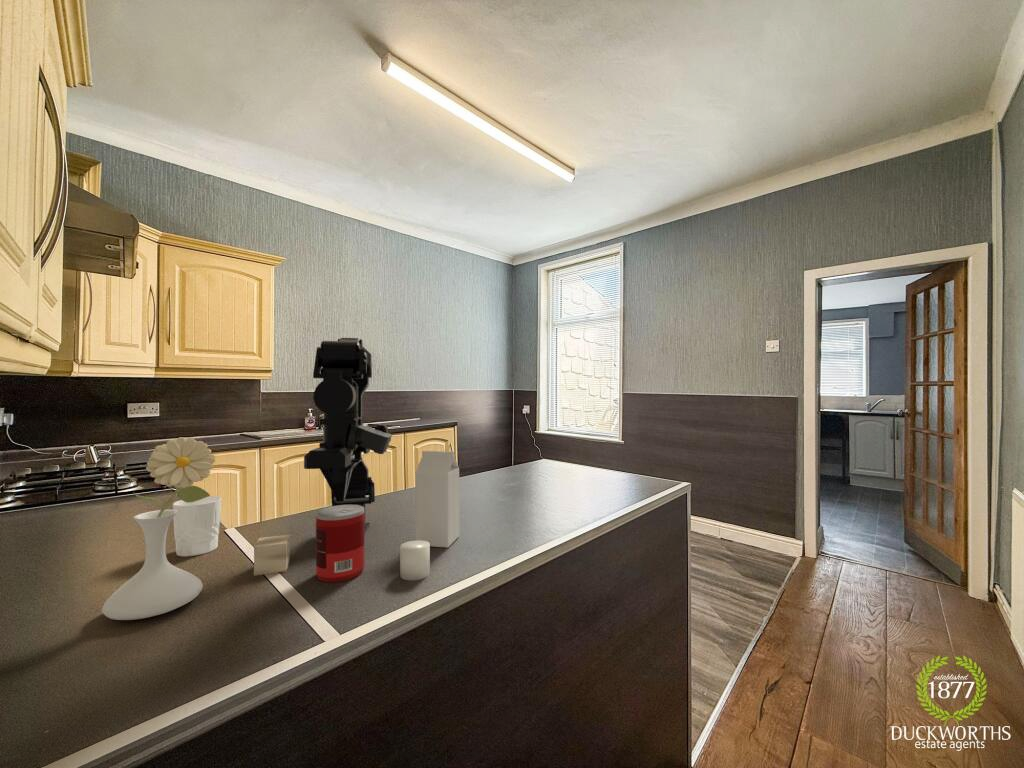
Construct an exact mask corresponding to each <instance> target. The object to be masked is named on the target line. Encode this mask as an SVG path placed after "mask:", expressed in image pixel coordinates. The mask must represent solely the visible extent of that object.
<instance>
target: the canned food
mask: <svg viewBox="0 0 1024 768" xmlns="http://www.w3.org/2000/svg"><path fill="white" fill-rule="evenodd" d="M315 519H316V520H315V570H316V571H315V574H316V577H317V579H318V580H320V582H321V581H322V582H324V583H325V582H326V583H338V582H345V581H349V580H351V579H354V578H355V577H357V576H359V575H361V573H363V571H364V569H365V556H366V555H365V550H366V549H365V544H366V543H365V539H366V537H365V533H366V531H365V511H364V507H363V506H360V505H337V506H332V505H331V506H329V507H324V508H322V509H320V510H318V511H317V512H316V516H315Z"/></svg>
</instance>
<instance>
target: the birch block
mask: <svg viewBox="0 0 1024 768" xmlns="http://www.w3.org/2000/svg"><path fill="white" fill-rule="evenodd" d="M290 540H291V534H283V535H273V536H263V537H259V538H258V539H257V541H256V543H255V545H254V546H253V576H254V577H255V576H261V575H268V574H267V573H269V574H274V572H276V573H283V572H287V570H288V567H289V564H290V561H291V560H290V559H291V556H290V555H291V554H290V553H291V551H290V550H291V549H290V548H291V547H290V546H291V544H290V543H291V541H290Z"/></svg>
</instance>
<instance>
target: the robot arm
mask: <svg viewBox="0 0 1024 768" xmlns="http://www.w3.org/2000/svg"><path fill="white" fill-rule="evenodd" d="M363 345H364V343H363V339H361V338H359V337H340V338H338V339H337V340H322V341H321V343H320V346H317V347H316V351H315V357H314V358H315V359H314V367H313V373H312V378H313V379H323V380H322V381H321V382H319V383H318V384H317V386H316V387H315V389H314V391H313V397H312V398H313V402H314V404H315V406H316V408H317V409H318V410H319V411H320V412H322V414H323V415H322V417H323V418H319V424H318V425H320V426H322V430H323V431H322V438H323V439H322V442H319V445H318V446H319V447H317V448H313V449H311V450H310V451H308V453H306V454H305V455H304V456H303V469H305V470H319V469H320V471H321V474H322V475H323V477H324V479H325V481H326V483H327V484H328V487H329V488H330V490H331V491H330V492H331V494H330V495H331V507H332V506H337V505H360V506H363V507H364V511H365V532H366V531H367V530H366V529H369V527H370V526H369V525H371V523H370V522H367V519H366V517H367V512H366V511H367V504H368V505H371V504H372V503H375V502H376V498H375V497H376V495H375V494H376V493H375V490H376V489H375V488H376V487H375V482H374V481H373V479H372V476H369V468H368V466H367V465H366V463H365V461H364V459H363V458H362V456H363V454H364V455H366V454H369V453H370V452H371V451H372V452H373V453H375V454H378V455H384V454H385V453H387V451H388V447H389V446H390V442H391V441H392V437H393V436H392V434H391V433H389V428H388V426H387V425H384V424H380V423H379V424H378V425H376V426H375V427H374V428H373V427H372V426H369V427H368V426H365V425H364V422H363V421H364V420H363V396H364V394H365V392H366V390H367V389H368V388H369V386H370V379H371V378H373V362H372V354H371V352H369V351H368V350H367V349H366V348H365V347H364V346H363ZM362 453H363V454H362ZM368 526H369V527H368Z"/></svg>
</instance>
